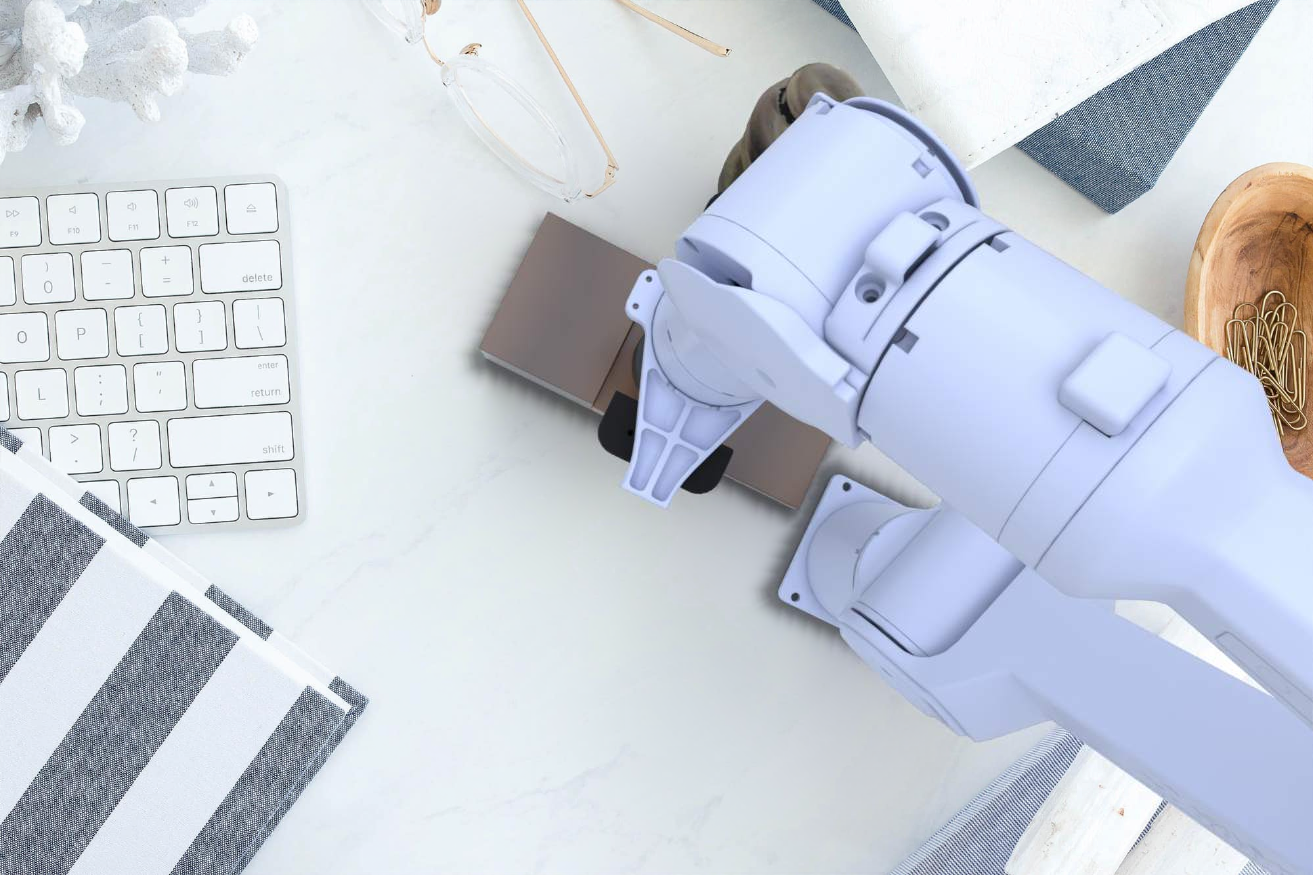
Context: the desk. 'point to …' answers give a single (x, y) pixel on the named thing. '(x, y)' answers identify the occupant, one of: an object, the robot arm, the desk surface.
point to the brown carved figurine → (785, 112)
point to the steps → (622, 351)
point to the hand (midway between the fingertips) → (690, 359)
